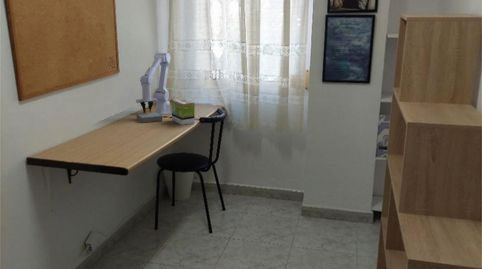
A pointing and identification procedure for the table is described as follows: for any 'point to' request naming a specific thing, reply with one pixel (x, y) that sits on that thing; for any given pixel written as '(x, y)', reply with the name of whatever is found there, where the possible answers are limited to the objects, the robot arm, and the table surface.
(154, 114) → the carton lid
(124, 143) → the table surface
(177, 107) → the tea box
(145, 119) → the carton
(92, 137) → the table surface
